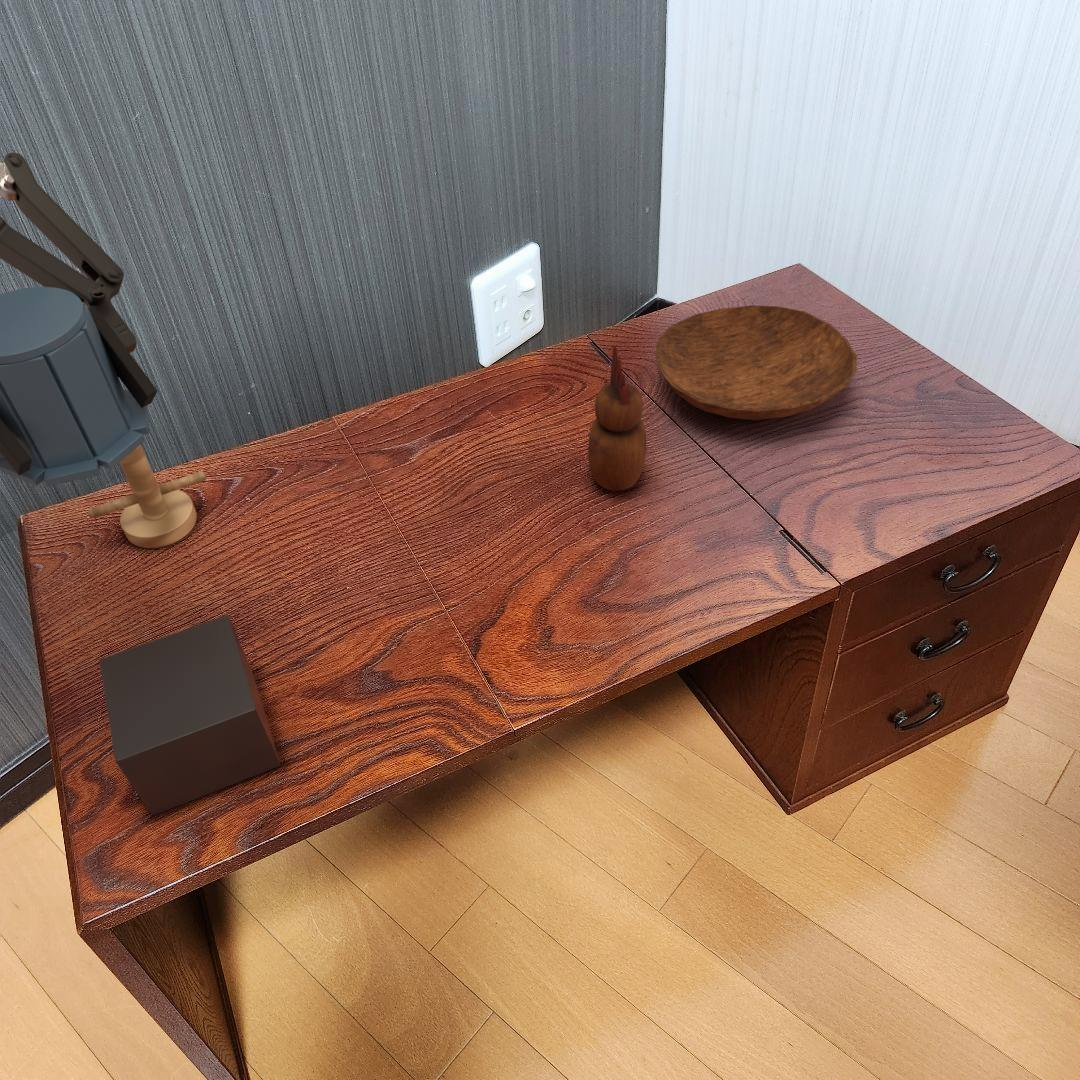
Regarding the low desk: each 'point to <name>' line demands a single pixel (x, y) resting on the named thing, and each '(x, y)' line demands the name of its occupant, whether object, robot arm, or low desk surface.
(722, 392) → the bowl
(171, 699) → the riser
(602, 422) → the wooden figurine
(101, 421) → the hat
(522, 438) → the low desk surface
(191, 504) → the hat stand
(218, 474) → the low desk surface
